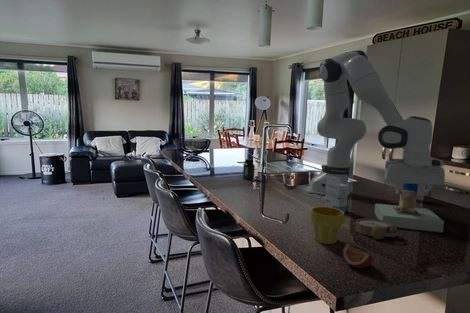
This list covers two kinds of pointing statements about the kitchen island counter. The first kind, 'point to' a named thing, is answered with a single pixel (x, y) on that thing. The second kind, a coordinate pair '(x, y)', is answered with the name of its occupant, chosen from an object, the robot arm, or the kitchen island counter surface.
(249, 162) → the supplement bottle
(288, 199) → the kitchen island counter surface
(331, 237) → the plant pot
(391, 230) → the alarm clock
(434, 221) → the board
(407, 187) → the beverage can
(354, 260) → the fruit slice
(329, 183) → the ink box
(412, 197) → the leg
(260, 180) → the kitchen island counter surface
